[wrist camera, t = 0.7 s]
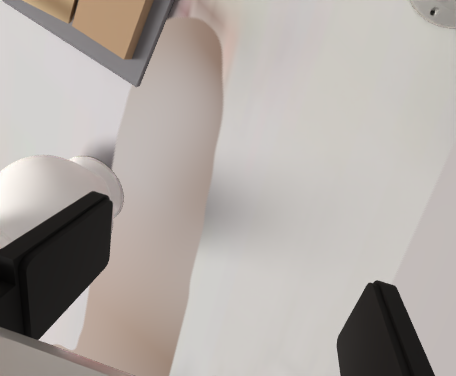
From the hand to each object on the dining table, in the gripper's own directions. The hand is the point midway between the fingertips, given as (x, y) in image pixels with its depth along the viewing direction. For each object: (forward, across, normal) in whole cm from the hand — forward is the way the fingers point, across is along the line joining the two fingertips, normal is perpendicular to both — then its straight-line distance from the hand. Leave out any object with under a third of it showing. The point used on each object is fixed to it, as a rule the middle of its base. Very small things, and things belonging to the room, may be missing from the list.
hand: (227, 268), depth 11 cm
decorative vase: (+34, +28, +21) cm, 49 cm away
